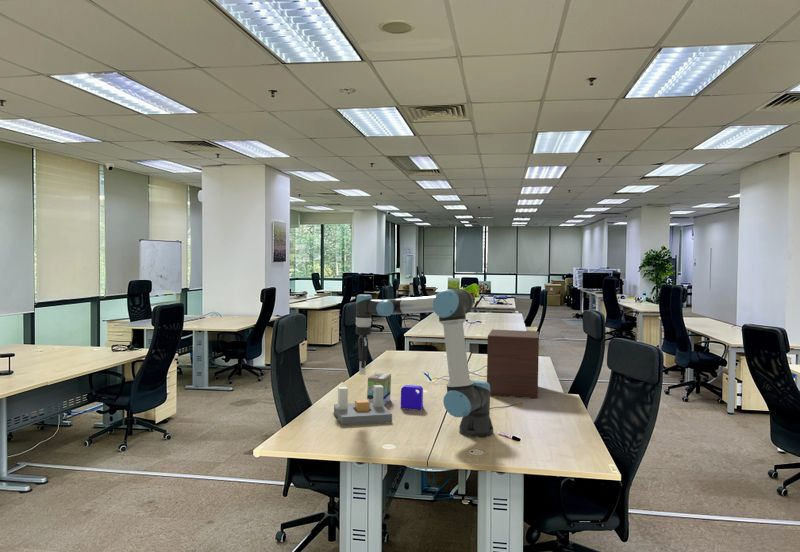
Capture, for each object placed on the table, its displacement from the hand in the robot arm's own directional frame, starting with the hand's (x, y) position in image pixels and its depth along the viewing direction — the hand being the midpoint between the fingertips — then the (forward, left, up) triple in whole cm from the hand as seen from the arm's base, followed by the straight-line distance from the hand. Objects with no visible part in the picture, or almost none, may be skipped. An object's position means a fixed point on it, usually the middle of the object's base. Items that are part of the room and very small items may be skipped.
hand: (362, 374), depth 259 cm
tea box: (+27, -15, -21) cm, 37 cm away
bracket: (+17, -32, -22) cm, 42 cm away
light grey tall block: (+4, -9, -17) cm, 20 cm away
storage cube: (+38, -102, -21) cm, 111 cm away
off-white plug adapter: (+4, +9, -17) cm, 20 cm away
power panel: (0, 0, -21) cm, 21 cm away
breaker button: (0, 0, -18) cm, 18 cm away
